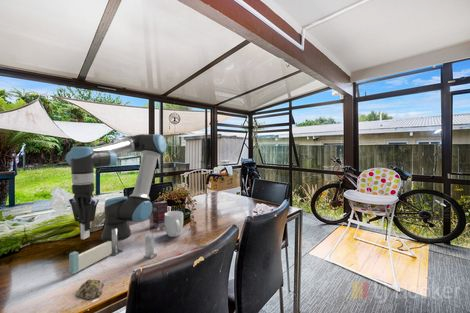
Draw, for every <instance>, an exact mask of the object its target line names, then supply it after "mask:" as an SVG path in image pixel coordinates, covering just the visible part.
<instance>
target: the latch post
mask: <svg viewBox="0 0 470 313" xmlns="http://www.w3.org/2000/svg"><path fill="white" fill-rule="evenodd" d="M154 240H155V239H154V235H146V236H145V255H143V257H144V258H145V259H149V260H152V259H154V258H155V257H156V256H157V254H156V253H154V252H155V251H154V249H155V248H154V244H155V243H154Z"/></svg>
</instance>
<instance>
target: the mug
mask: <svg viewBox="0 0 470 313" xmlns="http://www.w3.org/2000/svg"><path fill="white" fill-rule="evenodd" d="M164 220H165V221H164V222H165V225H164V229H165V233H166V235H167V236H168V237H170V238H171V237H172V238H174V237H178V236H180V234H181V233H182V230H183V227H184V212H183V211H181V210H180V211H179V210H172V211H167V213H165V218H164Z"/></svg>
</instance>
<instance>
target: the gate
mask: <svg viewBox="0 0 470 313" xmlns="http://www.w3.org/2000/svg"><path fill="white" fill-rule="evenodd" d="M110 254H112V242H111V241H107V242H105V241H104V242H103V243H100V244H99V245H97V246H94V247H91V248H90V249H88V250H85V251H83V252H81V253H79V251H75V250H74V251H71V252H70V253H69V254H68V256H69V257H68V259H69V260H68V261H69V262H68V263H69V264H68V265H69V267H68V268H69V269H68V270H69V271H68V273H69V274H73V275H75V274H76V273H78V272H79V271H81V270H83V269H85V268H87V267H89V266H90V265H93V264H95V263H97V262H98V261H101V260H102V259H104V258H106V257H108V256H111V255H110Z"/></svg>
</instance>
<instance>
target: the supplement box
mask: <svg viewBox="0 0 470 313" xmlns="http://www.w3.org/2000/svg"><path fill="white" fill-rule="evenodd" d="M167 212H168V201H166V200H161V201H157V202H156V201H155V202H153V203H152V226H153V227H154V228H156V227H157V228H160V227H163V226H164V227H165V222H164V221H165V220H164V218H165V213H167Z"/></svg>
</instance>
